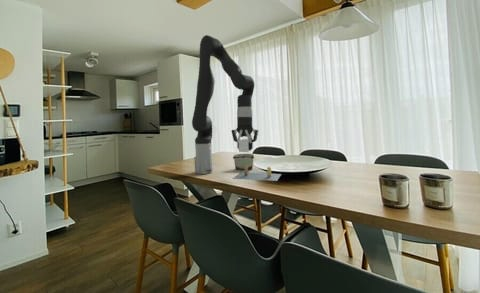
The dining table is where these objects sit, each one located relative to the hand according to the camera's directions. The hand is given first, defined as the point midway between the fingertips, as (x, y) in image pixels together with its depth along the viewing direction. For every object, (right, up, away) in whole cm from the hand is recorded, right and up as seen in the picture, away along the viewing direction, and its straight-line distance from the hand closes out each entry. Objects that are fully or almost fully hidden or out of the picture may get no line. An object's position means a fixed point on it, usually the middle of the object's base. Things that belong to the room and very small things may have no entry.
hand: (245, 149), depth 120 cm
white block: (0, -1, 0) cm, 1 cm away
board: (+6, -15, 0) cm, 16 cm away
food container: (0, -13, +20) cm, 24 cm away
